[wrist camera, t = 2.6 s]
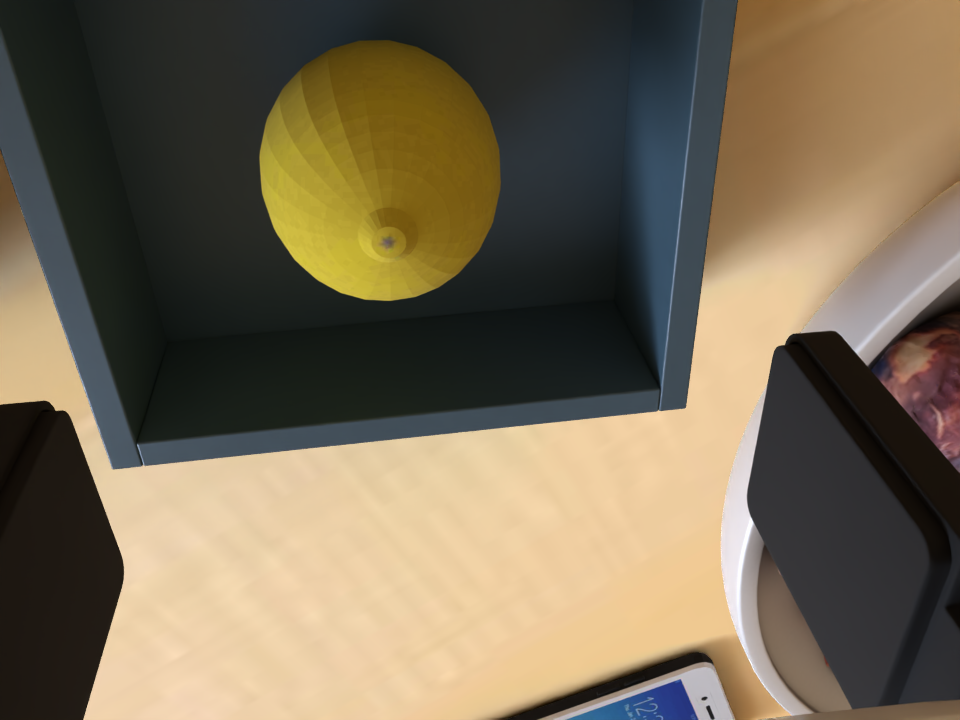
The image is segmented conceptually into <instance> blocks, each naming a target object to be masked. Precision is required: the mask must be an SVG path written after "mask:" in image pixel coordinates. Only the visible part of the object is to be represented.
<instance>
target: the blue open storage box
mask: <svg viewBox="0 0 960 720" xmlns="http://www.w3.org/2000/svg"><path fill="white" fill-rule="evenodd" d="M737 3H738V0H0V150H1V153H2V156H3V158H4V161H5V164H6V167H7V170H8V173H9V176H10V178H11V181H12V184H13V187H14V190H15V193H16V196H17V198H18V201H19V204H20V207H21V210H22V213H23V216H24V218H25V221H26V224H27V227H28V230H29V233H30V236H31V238H32V241H33V244H34V247H35V250H36V253H37V256H38V258H39V261H40V264H41V267H42V270H43V273H44V276H45V278H46V281H47V284H48V287H49V290H50V293H51V295H52V298H53V301H54V304H55V307H56V310H57V313H58V315H59V318H60V321H61V324H62V327H63V330H64V333H65V335H66V338H67V341H68V344H69V347H70V350H71V353H72V355H73V358H74V361H75V364H76V367H77V370H78V373H79V375H80V378H81V381H82V384H83V387H84V390H85V393H86V395H87V398H88V401H89V404H90V407H91V410H92V412H93V415H94V418H95V421H96V424H97V427H98V430H99V432H100V435H101V438H102V441H103V444H104V447H105V450H106V452H107V455H108V458H109V461H110V464H111V467H112V469H122V468H131V467H141V466H142V465H144V466H148V465H158V464H167V463H177V462H186V461H195V460H205V459H214V458H223V457H233V456H242V455H252V454H261V453H270V452H280V451H289V450H299V449H308V448H317V447H327V446H336V445H346V444H355V443H364V442H374V441H383V440H392V439H402V438H411V437H421V436H430V435H439V434H449V433H458V432H468V431H477V430H486V429H496V428H505V427H515V426H524V425H533V424H543V423H552V422H561V421H571V420H580V419H590V418H599V417H608V416H618V415H627V414H637V413H646V412H655V411H658V409H659V411H665V410H674V409H684V408H686V403H687V395H688V388H689V380H690V372H691V364H692V356H693V348H694V340H695V333H696V325H697V317H698V309H699V301H700V293H701V286H702V278H703V270H704V262H705V254H706V246H707V238H708V231H709V223H710V215H711V207H712V199H713V191H714V183H715V176H716V168H717V160H718V152H719V144H720V136H721V129H722V121H723V113H724V105H725V97H726V89H727V81H728V74H729V66H730V58H731V50H732V42H733V34H734V27H735V19H736V11H737ZM369 40H390V41H394V42H399V43H403V44H407V45H411V46H415V47H418V48H420V49H422V50H424V51H426V52H428V53H429V54H431V55H433V56H435V57H437V58H439V59H441V60H442V61H444V62H446V63H447V64H448V65H449V66H450V67H451V68H452V69H453V70H454V71H455V72H457V73H458V74H459V75H460V76H461V77H462V78H463V79H464V80H465V81H466V82H467V83H468V84H469V85H470V86H471V88H472V89H473V91H474V92H475V94H476V96H477V97H478V99H479V100H480V102H481V103H482V105H483V107H484V108H485V110H486V111H487V113H488V115H489V118H490V121H491V124H492V127H493V131H494V134H495V137H496V140H497V143H498V147H499V154H500V179H501V186H500V193H499V197H498V202H497V206H496V211H495V215H494V220H493V223H492V226H491V228H490V230H489V232H488V234H487V236H486V238H485V239H484V241H483V243H482V245H481V247H480V249H479V251H478V252H477V253H476V254H475V256H474V257H473V258H472V259H471V260H470V261H469V262H468V263H467V265H466V266H465V267H464V268H463V269H462V270H461V271H460V272H459V273H458V274H457V275H456V276H454V277H453V278H451V279H450V280H448V281H447V282H446V283H444V284H443V285H441V286H440V287H438V288H436V289H433V290H431V291H429V292H426V293H424V294H421V295H419V296H416V297H411V298H405V299H399V300H393V301H383V300H365V299H361V298H358V297H354V296H351V295H347V294H343V293H340V292H338V291H336V290H335V289H333V288H331V287H329V286H327V285H326V284H324V283H322V282H320V281H318V280H317V279H316V278H314V277H313V276H312V275H311V274H310V273H309V272H308V271H307V270H305V269H304V268H303V267H302V266H301V265H300V264H299V263H298V262H297V261H295V260H294V258H293V257H292V255H291V254H290V252H289V251H288V249H287V248H286V246H285V245H284V243H283V242H282V240H281V239H280V238H279V236H278V235H277V233H276V231H275V229H274V227H273V224H272V221H271V219H270V216H269V213H268V210H267V207H266V204H265V201H264V198H263V194H262V188H261V173H260V158H259V157H260V149H261V144H262V139H263V134H264V129H265V124H266V121H267V118H268V116H269V114H270V112H271V110H272V108H273V106H274V104H275V102H276V100H277V98H278V96H279V95H280V93H281V91H282V89H283V88H284V87H285V85H286V84H287V83H288V82H289V81H290V80H291V79H292V78H293V77H294V76H295V75H296V74H297V73H298V72H299V71H300V70H301V68H302V67H303V66H304V65H306V64H307V63H309V62H310V61H312V60H314V59H315V58H317V57H318V56H320V55H322V54H323V53H325V52H327V51H328V50H330V49H332V48H335V47H339V46H342V45H346V44H349V43H353V42H356V41H369Z"/></svg>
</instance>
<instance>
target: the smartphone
mask: <svg viewBox="0 0 960 720" xmlns="http://www.w3.org/2000/svg"><path fill="white" fill-rule="evenodd" d="M506 720H735V717H734V715H733V712H732V710H731V707H730V705H729V702H728V700H727V697H726V694H725V692H724V689H723V687H722V684H721V682H720V679H719V677H718V674H717V671H716V669H715V666H714V664H713V662H712V660H711V659H710V658H709V657H708V656H707V655H706V654H704V653H699V652H698V653H692V654H689V655H686V656H683V657H680V658H678V659H675V660H672V661H669V662H666V663H663V664H661V665H658V666H655V667H652V668H649V669H647V670H644V671H641V672H638V673H635V674H633V675H630V676H627V677H624V678H621V679H619V680H616V681H613V682H610V683H607V684H604V685H602V686H599V687H596V688H593V689H590V690H588V691H585V692H582V693H579V694H576V695H574V696H571V697H568V698H565V699H562V700H560V701H557V702H554V703H551V704H548V705H545V706H543V707H540V708H537V709H534V710H531V711H529V712H526V713H523V714H520V715H517V716H515V717H512V718H509V719H506Z"/></svg>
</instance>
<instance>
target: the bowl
mask: <svg viewBox="0 0 960 720" xmlns="http://www.w3.org/2000/svg"><path fill="white" fill-rule="evenodd" d="M820 331H836V332H837V333H838V334H840V335H841V336H842V337H843V339H844V340H845V341H846V342H847V343H848V344H849V346H850V347H851V348H852V349H853V350H854V351H855V352H856V354H857V355H858V356H859V357H860V358H861V359H862V361H863V362H864V363H865V364H866V365H867V366H868V368H869V369H870V370H871V371H872V372H873V373H874V375H875V376H876V377H877V378H878V379H879V380H880V381H881V383H882V384H883V385H884V386H885V387H886V388H887V390H888V391H889V392H890V393H891V394H892V395H893V397H894V398H895V399H896V400H897V401H898V402H899V404H900V405H901V406H902V407H903V408H904V409H905V410H906V412H907V413H908V414H909V415H910V416H911V417H912V419H913V420H914V421H915V422H916V423H917V424H918V426H919V427H920V428H921V429H922V430H923V431H924V432H925V434H926V435H927V436H928V437H929V438H930V439H931V441H932V442H933V443H934V444H935V445H936V446H937V448H938V449H939V450H940V451H941V452H942V453H943V455H944V456H945V457H946V458H947V459H948V460H949V461H950V463H951V464H952V465H953V466H954V467H955V468H956V470H957V471H958V472H959V473H960V180H959V181H958V182H956V183H955V184H953V185H952V186H951V187H949V188H948V189H946V190H945V191H944V192H942V193H941V194H939V195H938V196H937V197H935V198H934V199H933V200H932V201H930V202H929V203H928V204H926V205H925V206H924V207H923V208H921V209H920V210H919V211H918V212H916V213H915V214H914V215H912V216H911V217H910V218H909V219H908V220H907V221H905V222H904V223H903V224H902V225H901V226H900V227H898V228H897V229H896V230H895V231H894V232H893V233H891V234H890V235H889V236H888V237H887V238H886V239H885V240H884V241H882V242H881V243H880V244H879V245H878V246H877V247H876V248H875V249H874V250H873V251H872V252H871V253H870V254H869V255H868V256H867V257H866V258H864V259H863V260H862V261H861V262H860V264H859V265H858V266H857V267H856V268H855V269H854V270H853V271H852V272H851V273H850V274H849V275H848V276H847V277H846V278H845V279H844V280H843V281H842V282H841V283H840V284H839V286H838V287H837V288H836V289H835V290H834V291H833V292H832V294H831V295H830V296H829V297H828V298H827V299H826V300H825V302H824V303H823V304H822V305H821V306H820V308H819V309H818V310H817V311H816V313H815V314H814V315H813V316H812V318H811V319H810V320H809V321H808V323H807V324H806V325H805V327H804V328H803V329H802V331H801V332H800V333H809V332H820ZM766 390H767V385H766V387H765V389H764V391H763V393H762V394H761V396H760V398H759V400H758V402H757V404H756V406H755V409H754V411H753V413H752V415H751V417H750V419H749V421H748V424H747V426H746V429H745V431H744V434H743V436H742V439H741V441H740V444H739V447H738V450H737V453H736V457H735V460H734V463H733V466H732V470H731V473H730V478H729V482H728V486H727V490H726V496H725V502H724V509H723V516H722V529H721V565H722V574H723V582H724V589H725V594H726V598H727V603H728V607H729V611H730V614H731V618H732V621H733V623H734V626H735V629H736V632H737V635H738V637H739V640H740V642H741V644H742V646H743V648H744V650H745V653H746V655H747V657H748V659H749V661H750V663H751V665H752V668H753V670H754V671H755V673H756V675H757V676H758V678H759V680H760V681H761V683H762V684H763V686H764V687H765V688H766V690H767V691H768V692H769V693H770V695H771V696H772V697H773V698H774V699H775V700H776V701H777V702H778V703H779V704H780V705H781V706H782V707H783V708H784V709H785V710H786V711H787V712H789V713H790V714H791V715H792V716H794V715H802V714H811V713H821V712H831V711H841V710H850V709H852V708H851V706H850V704H849V702H848V700H847V698H846V696H845V695H844V693H843V691H842V689H841V687H840V685H839V683H838V681H837V679H836V678H835V676H834V674H833V672H832V670H831V668H830V666H829V664H828V662H827V661H826V659H825V657H824V655H823V653H822V651H821V649H820V647H819V645H818V644H817V642H816V640H815V638H814V636H813V634H812V632H811V630H810V628H809V627H808V625H807V623H806V621H805V619H804V617H803V615H802V613H801V611H800V610H799V608H798V606H797V604H796V602H795V600H794V598H793V596H792V594H791V592H790V591H789V589H788V587H787V585H786V583H785V581H784V579H783V577H782V575H781V574H780V572H779V570H778V568H777V566H776V564H775V562H774V560H773V558H772V557H771V555H770V553H769V551H768V549H767V547H766V545H765V543H764V541H763V540H762V538H761V536H760V534H759V532H758V530H757V528H756V526H755V524H754V523H753V521H752V519H751V516H750V514H749V510H748V505H747V489H748V484H749V479H750V474H751V468H752V463H753V458H754V453H755V447H756V442H757V437H758V432H759V426H760V421H761V416H762V411H763V405H764V400H765V395H766Z"/></svg>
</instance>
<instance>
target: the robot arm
mask: <svg viewBox="0 0 960 720" xmlns="http://www.w3.org/2000/svg"><path fill="white" fill-rule="evenodd" d="M747 505H748V510H749V514H750V516H751V519H752V521H753V523H754V524H755V526H756V528H757V530H758V532H759V534H760V536H761V538H762V540H763V541H764V543H765V545H766V547H767V549H768V551H769V553H770V555H771V557H772V558H773V560H774V562H775V564H776V566H777V568H778V570H779V572H780V574H781V575H782V577H783V579H784V581H785V583H786V585H787V587H788V589H789V591H790V592H791V594H792V596H793V598H794V600H795V602H796V604H797V606H798V608H799V610H800V611H801V613H802V615H803V617H804V619H805V621H806V623H807V625H808V627H809V628H810V630H811V632H812V634H813V636H814V638H815V640H816V642H817V644H818V645H819V647H820V649H821V651H822V653H823V655H824V657H825V659H826V661H827V662H828V664H829V666H830V668H831V670H832V672H833V674H834V676H835V678H836V679H837V681H838V683H839V685H840V687H841V689H842V691H843V693H844V695H845V696H846V698H847V700H848V702H849V704H850V706H851V708H852V709H850V710H841V711H831V712H821V713H811V714H802V715H794V716H785V717H777V718H768V719H760V720H960V473H959V472H958V471H957V470H956V468H955V467H954V466H953V465H952V464H951V463H950V461H949V460H948V459H947V458H946V457H945V456H944V455H943V453H942V452H941V451H940V450H939V449H938V448H937V446H936V445H935V444H934V443H933V442H932V441H931V439H930V438H929V437H928V436H927V435H926V434H925V432H924V431H923V430H922V429H921V428H920V427H919V426H918V424H917V423H916V422H915V421H914V420H913V419H912V417H911V416H910V415H909V414H908V413H907V412H906V410H905V409H904V408H903V407H902V406H901V405H900V404H899V402H898V401H897V400H896V399H895V398H894V397H893V395H892V394H891V393H890V392H889V391H888V390H887V388H886V387H885V386H884V385H883V384H882V383H881V381H880V380H879V379H878V378H877V377H876V376H875V375H874V373H873V372H872V371H871V370H870V369H869V368H868V366H867V365H866V364H865V363H864V362H863V361H862V359H861V358H860V357H859V356H858V355H857V354H856V352H855V351H854V350H853V349H852V348H851V347H850V346H849V344H848V343H847V342H846V341H845V340H844V339H843V337H842V336H841V335H840V334H838V333H837V332H836V331H820V332H809V333H798V334H792V335H791V336H789V338H788V339H787V341H786V344H785V345H782V346H778V347H777V348H776V349H775V351H774V354H773V358H772V363H771V369H770V374H769V379H768V384H767V390H766V395H765V400H764V405H763V411H762V416H761V421H760V426H759V432H758V437H757V442H756V447H755V453H754V458H753V463H752V468H751V474H750V479H749V484H748V489H747ZM123 578H124V566H123V559H122V556H121V553H120V550H119V547H118V545H117V542H116V539H115V537H114V534H113V531H112V529H111V526H110V523H109V520H108V518H107V515H106V512H105V510H104V507H103V504H102V501H101V499H100V496H99V493H98V491H97V488H96V485H95V483H94V480H93V477H92V474H91V472H90V469H89V466H88V464H87V461H86V458H85V455H84V453H83V450H82V447H81V445H80V442H79V439H78V437H77V434H76V431H75V428H74V426H73V423H72V420H71V418H70V416H69V414H68V413H67V412H66V411H63V410H62V411H55V409H54V407H53V406H52V405H51V404H50V403H49V402H47V401H36V402H25V403H14V404H3V405H0V720H83V718H84V715H85V712H86V708H87V705H88V701H89V698H90V694H91V691H92V688H93V684H94V681H95V677H96V674H97V671H98V667H99V664H100V660H101V657H102V653H103V650H104V647H105V643H106V640H107V636H108V633H109V630H110V626H111V623H112V619H113V616H114V612H115V609H116V606H117V602H118V599H119V595H120V592H121V589H122V585H123Z"/></svg>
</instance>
